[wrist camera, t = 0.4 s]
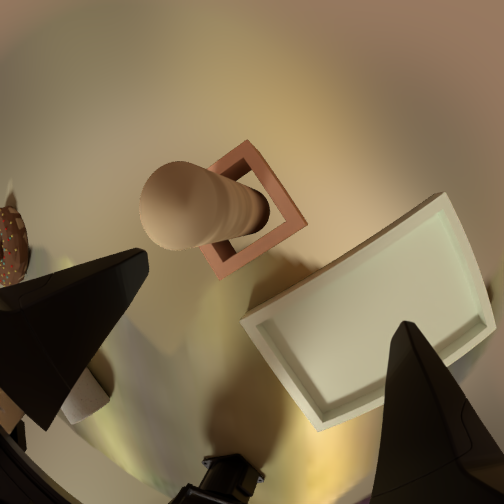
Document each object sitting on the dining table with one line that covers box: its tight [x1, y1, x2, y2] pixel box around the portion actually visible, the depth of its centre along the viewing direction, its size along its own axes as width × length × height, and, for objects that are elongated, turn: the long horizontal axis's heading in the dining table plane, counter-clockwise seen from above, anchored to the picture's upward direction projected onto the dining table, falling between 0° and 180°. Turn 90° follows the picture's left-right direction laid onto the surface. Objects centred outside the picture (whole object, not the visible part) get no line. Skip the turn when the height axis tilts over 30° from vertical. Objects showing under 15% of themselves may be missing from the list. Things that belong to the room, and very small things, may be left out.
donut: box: [0, 206, 29, 287], centre depth 32 cm, size 14×14×5 cm
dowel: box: [139, 161, 270, 251], centre depth 18 cm, size 4×4×12 cm
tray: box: [239, 192, 496, 432], centre depth 21 cm, size 20×14×2 cm
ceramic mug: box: [61, 367, 110, 424], centre depth 29 cm, size 11×8×8 cm
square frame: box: [199, 140, 308, 280], centre depth 22 cm, size 8×8×4 cm
